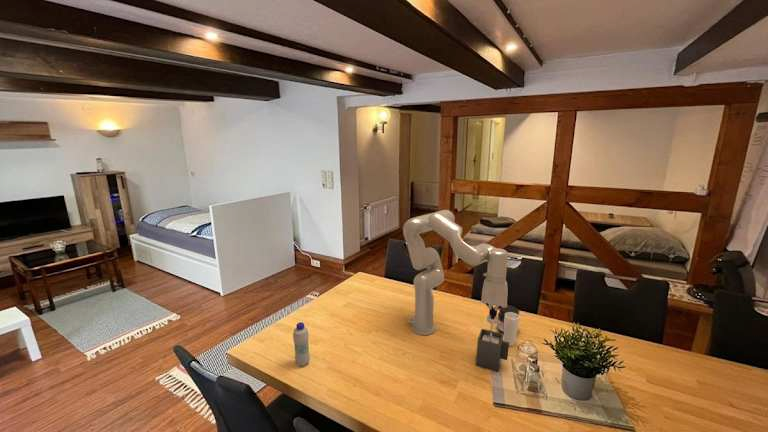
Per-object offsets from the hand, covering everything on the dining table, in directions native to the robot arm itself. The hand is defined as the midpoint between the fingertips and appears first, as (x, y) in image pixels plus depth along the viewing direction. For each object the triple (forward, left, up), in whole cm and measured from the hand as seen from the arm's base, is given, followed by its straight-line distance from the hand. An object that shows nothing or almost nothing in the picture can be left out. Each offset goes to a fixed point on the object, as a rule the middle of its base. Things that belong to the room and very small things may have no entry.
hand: (492, 317), depth 144 cm
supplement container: (+5, +30, -23) cm, 38 cm away
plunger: (0, 0, -12) cm, 12 cm away
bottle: (-75, -36, -23) cm, 86 cm away
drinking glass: (+7, +19, -23) cm, 31 cm away
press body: (+1, 0, -23) cm, 23 cm away
